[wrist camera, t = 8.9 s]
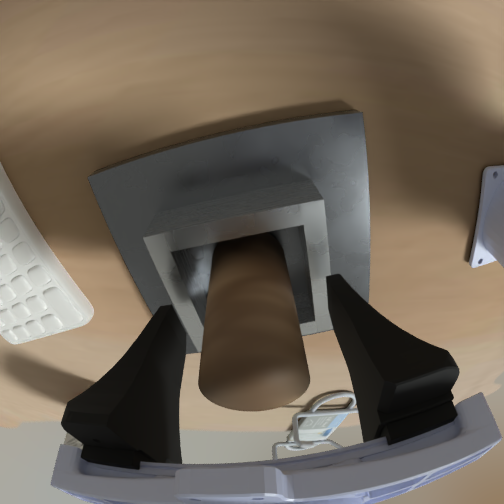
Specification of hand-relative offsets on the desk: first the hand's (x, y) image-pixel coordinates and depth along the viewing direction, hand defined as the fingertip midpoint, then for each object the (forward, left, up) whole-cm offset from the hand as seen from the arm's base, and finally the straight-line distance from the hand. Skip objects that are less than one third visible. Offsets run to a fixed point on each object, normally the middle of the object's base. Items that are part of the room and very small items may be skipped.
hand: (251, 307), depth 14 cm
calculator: (+20, -6, -6) cm, 22 cm away
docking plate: (0, 0, -5) cm, 5 cm away
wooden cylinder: (0, 0, -4) cm, 4 cm away
